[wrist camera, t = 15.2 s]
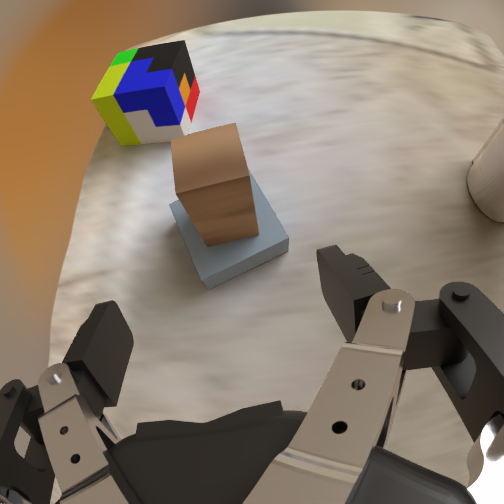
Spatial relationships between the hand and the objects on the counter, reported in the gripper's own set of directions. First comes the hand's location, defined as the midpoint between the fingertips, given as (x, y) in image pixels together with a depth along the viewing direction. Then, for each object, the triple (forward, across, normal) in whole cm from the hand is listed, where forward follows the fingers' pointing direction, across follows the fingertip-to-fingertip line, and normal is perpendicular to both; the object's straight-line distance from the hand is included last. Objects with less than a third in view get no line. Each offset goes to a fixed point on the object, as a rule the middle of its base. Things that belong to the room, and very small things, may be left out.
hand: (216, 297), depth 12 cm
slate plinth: (+22, 0, +6) cm, 23 cm away
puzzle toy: (+37, +6, -9) cm, 38 cm away
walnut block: (+19, 0, +3) cm, 19 cm away
